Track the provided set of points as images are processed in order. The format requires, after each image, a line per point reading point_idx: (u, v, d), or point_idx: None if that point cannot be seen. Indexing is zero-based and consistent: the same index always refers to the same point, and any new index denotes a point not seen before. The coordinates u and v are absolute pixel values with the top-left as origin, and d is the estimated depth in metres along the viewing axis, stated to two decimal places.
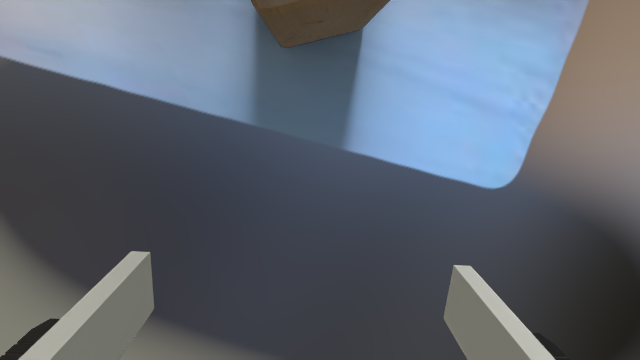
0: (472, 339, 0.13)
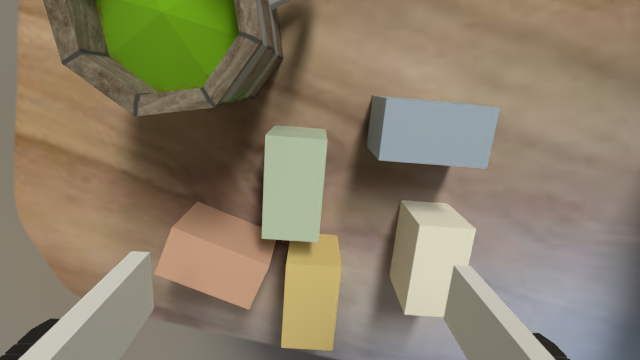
0: (473, 338, 0.13)
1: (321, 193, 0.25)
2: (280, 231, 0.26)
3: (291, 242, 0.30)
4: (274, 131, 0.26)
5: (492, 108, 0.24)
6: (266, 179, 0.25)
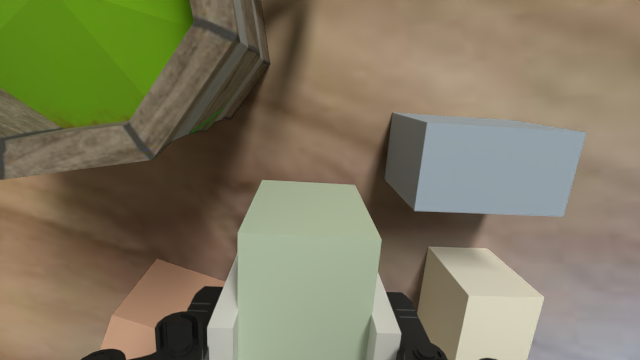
0: None
1: (365, 348, 0.12)
2: None
3: None
4: (260, 209, 0.12)
5: (575, 133, 0.17)
6: (243, 324, 0.11)
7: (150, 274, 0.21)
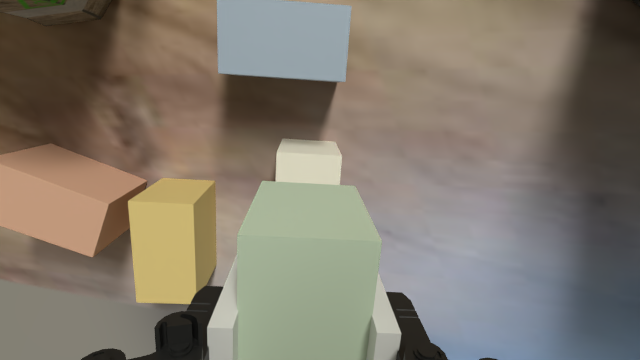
0: None
1: (365, 350, 0.12)
2: None
3: (153, 185, 0.27)
4: (259, 210, 0.12)
5: (342, 7, 0.21)
6: (243, 326, 0.11)
7: (37, 148, 0.26)
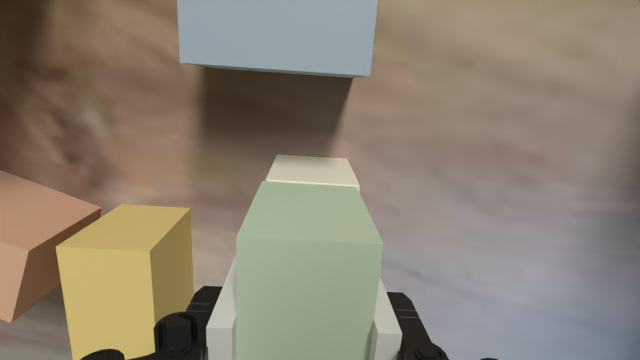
0: None
1: (366, 354, 0.11)
2: None
3: (104, 217, 0.20)
4: (259, 212, 0.12)
5: None
6: (242, 329, 0.11)
7: None
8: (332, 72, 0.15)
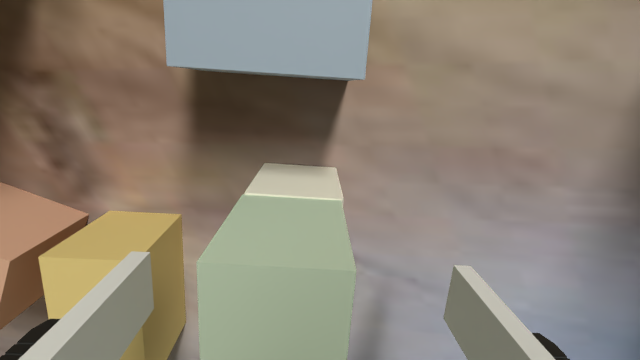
0: (472, 339, 0.13)
1: None
2: None
3: (90, 224, 0.19)
4: (229, 231, 0.11)
5: None
6: (206, 359, 0.10)
7: None
8: (325, 75, 0.14)
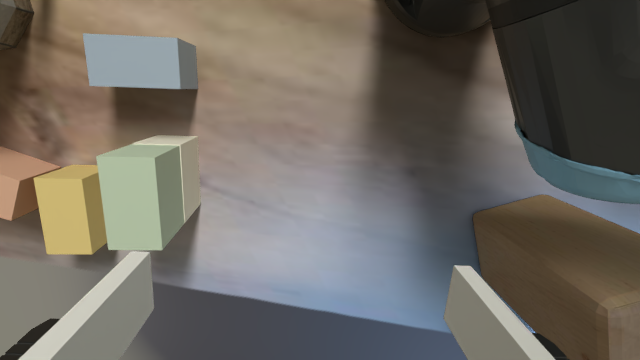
0: (472, 338, 0.13)
1: (157, 205, 0.28)
2: (125, 242, 0.29)
3: (60, 169, 0.36)
4: (115, 151, 0.29)
5: (171, 39, 0.30)
6: (104, 196, 0.28)
7: None
8: (162, 87, 0.31)
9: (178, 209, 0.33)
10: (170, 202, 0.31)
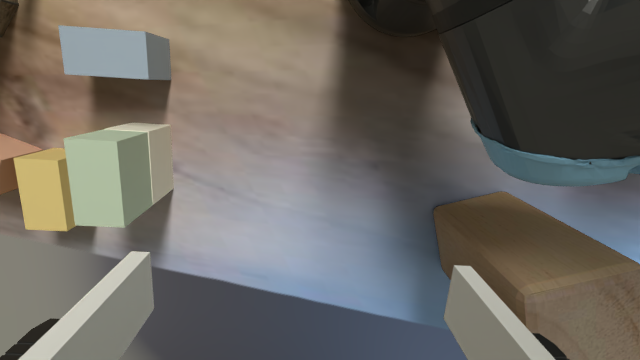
0: (472, 338, 0.13)
1: (119, 186, 0.30)
2: (90, 218, 0.31)
3: (41, 151, 0.39)
4: (83, 135, 0.31)
5: (139, 32, 0.33)
6: (71, 175, 0.30)
7: None
8: (132, 78, 0.34)
9: (145, 192, 0.35)
10: (135, 184, 0.33)
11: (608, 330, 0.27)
